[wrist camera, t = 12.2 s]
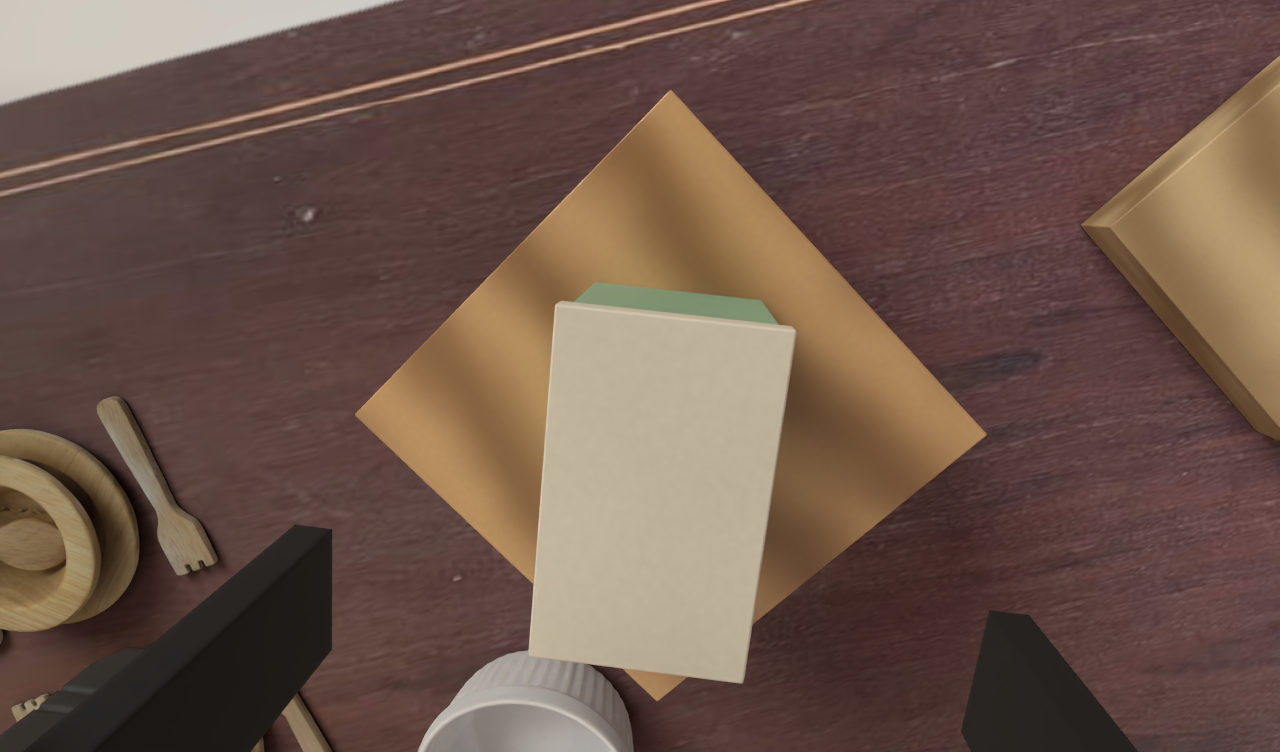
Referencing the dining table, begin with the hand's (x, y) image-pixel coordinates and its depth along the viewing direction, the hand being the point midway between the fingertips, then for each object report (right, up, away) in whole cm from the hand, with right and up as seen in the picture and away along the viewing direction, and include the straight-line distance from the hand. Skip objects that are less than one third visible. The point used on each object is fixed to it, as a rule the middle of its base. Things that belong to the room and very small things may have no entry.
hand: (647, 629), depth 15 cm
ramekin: (-6, -18, +35) cm, 40 cm away
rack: (+2, +6, +29) cm, 30 cm away
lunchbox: (+1, +3, +15) cm, 16 cm away
